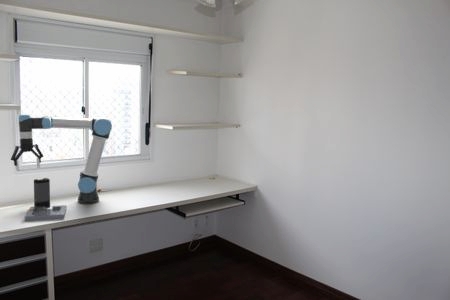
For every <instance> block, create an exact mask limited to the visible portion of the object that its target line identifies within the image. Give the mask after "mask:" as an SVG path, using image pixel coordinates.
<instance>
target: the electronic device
mask: <svg viewBox="0 0 450 300" xmlns="http://www.w3.org/2000/svg"><path fill="white" fill-rule="evenodd" d="M50 182H51V181H50V178H48V177H45V178H44V177H43V178H42V179H40V178H39V179H37V178H36V179H34V180H33V198H34V199H33V200H34V202H33V203H34V204H33V205H34V206H33V207H39V206H45V209H49V208H50V207H51V191H50V190H51V188H50V187H51V183H50Z"/></svg>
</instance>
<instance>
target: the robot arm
mask: <svg viewBox="0 0 450 300" xmlns="http://www.w3.org/2000/svg"><path fill="white" fill-rule="evenodd" d="M18 127H19V130H18V131H19V144H20V145H15V147H14V151H13V152H12V155H11V157H10V160H11V161H13V164H14V166H15V170H16V171H17V172H18V171H20V168H19V167H20V166H19V159H20V157H21V156H22V155H23V154H24V153H28V152H29V153H30V152H31V153H32V154H33V155H34V156H35V157H36V168H37V169H40V168H41V166H40V165H41V163H42V161H41V160H42V158H44V155H43V152H42V151H41V149H40V148H39V144H36V143H35V144H34V141H33V140H34V139H33V130H48V129H52V128H53V129H75V130H90V131H91V136H92V139H91V141H92V142H91V145H90V148H89V151H88V156H87V159H86V163H85V167H84V170H82V171H80V173H79V180H78V183H77V187H78V190H79V194H78V196H77V203H79V204H83V205H90V204H96V203H99V202H100V197H99V194H98V191H97V190H98V187H97V182H98V179H99V174H98V171H99V167H100V163H101V159H102V154H103V151H104V149H105V144H106V141H107V140H109V138H110V135H111V131H112V129H113V128H112V127H113V125H112V122H111V120H110V119H109V118H107V117H103V116H102V117H101V116H100V117H91V118H76V117H75V118H74V117H57V116H54V117H52V116H42V117H33V116H32V115H31V114H20V115H18ZM34 148H35V149H34Z"/></svg>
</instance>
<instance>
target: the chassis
mask: <svg viewBox="0 0 450 300" xmlns="http://www.w3.org/2000/svg"><path fill="white" fill-rule="evenodd" d="M51 207H52V208H45V206H39V207H34V206H30V207H29V209H28V211H27V213H26V214H25V216H24V222H36V221H37V222H39V221H52V220H65V215H66V213H67V205H66V204H65V205H64V204H63V205H52V206H51Z"/></svg>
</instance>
